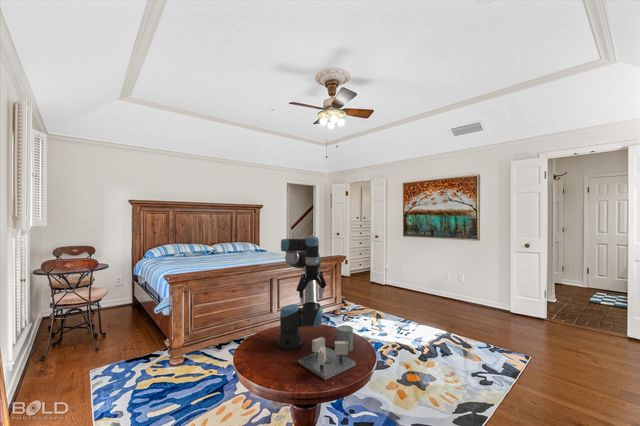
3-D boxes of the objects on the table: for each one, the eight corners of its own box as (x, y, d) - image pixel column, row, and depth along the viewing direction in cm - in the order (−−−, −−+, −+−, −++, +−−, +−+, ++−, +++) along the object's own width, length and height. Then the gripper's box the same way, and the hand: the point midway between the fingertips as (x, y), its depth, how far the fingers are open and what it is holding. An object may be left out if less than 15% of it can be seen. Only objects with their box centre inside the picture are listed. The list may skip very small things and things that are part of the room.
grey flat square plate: (298, 362, 167) (298, 357, 167) (328, 350, 181) (328, 345, 181) (325, 379, 150) (325, 373, 150) (355, 365, 164) (355, 359, 164)
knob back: (315, 358, 168) (315, 340, 168) (312, 356, 170) (312, 338, 170) (324, 354, 172) (325, 337, 172) (321, 352, 174) (321, 335, 174)
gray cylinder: (352, 352, 179) (352, 332, 179) (335, 351, 181) (336, 330, 181) (353, 345, 188) (353, 325, 188) (338, 344, 190) (338, 324, 190)
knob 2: (334, 359, 166) (334, 342, 166) (334, 357, 169) (334, 339, 169) (347, 360, 166) (347, 342, 165) (347, 357, 169) (347, 340, 168)
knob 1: (320, 363, 162) (320, 345, 162) (325, 364, 161) (325, 345, 161) (317, 370, 155) (317, 351, 155) (323, 371, 154) (323, 351, 154)
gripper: (298, 267, 163) (298, 307, 163) (332, 262, 179) (332, 298, 179) (290, 265, 168) (290, 303, 169) (324, 260, 185) (323, 295, 185)
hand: (311, 301), depth 174 cm, fingers open, 13 cm apart
